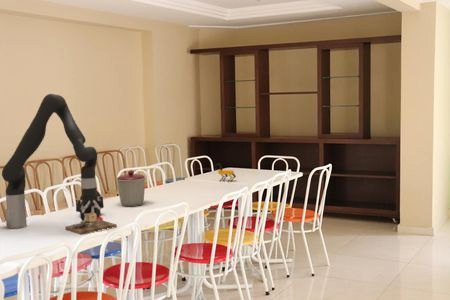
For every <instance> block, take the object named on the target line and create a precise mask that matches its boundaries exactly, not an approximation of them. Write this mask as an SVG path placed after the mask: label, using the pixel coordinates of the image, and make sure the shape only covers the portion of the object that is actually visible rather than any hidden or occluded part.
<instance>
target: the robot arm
mask: <svg viewBox="0 0 450 300" xmlns="http://www.w3.org/2000/svg"><path fill="white" fill-rule="evenodd" d="M53 114H56V115H57V117H58V118H59V119H60V121H61V122H62V124H63V130H64V132H65V134H66V136H67V138H68V140H69V141H70V143H71V145H72V147H73V151H74V155H75V156H76V159H78V161H80V162H82V163H84V165H83V166H82V167H81V168H80V179H81V180H80V187H81V188H80V190H81V195H82V200H80V199H75V200H76V201H75V211H76V212H77V213H79V215H80V217H79V218H80V220H81V221H82V220H85V214H84V211H85V209H86V208H87V207H91V206H92V207H93V206H94V207H95V208H96V209H97V210H96V216H97V217H101V214H102V213H101V209H104V208H105V206H104V198H103V196H102V195H101V196H99V197H97V191H98V187H97V180H96V166H97V161H98V152H97V149H96V148H95V147H94V146H85V143H86V138H85V136H84V133H82V131H81V128H79V126H78V124H77V123H76V120H75V119H74V117H73V115H72V113H71V111H70V108H69V106H68V104H67V101H66V99H65V98H64V97H63V96H61V95H59V94H54V93H49V94H47V95H45V96H44V97H43V99H42V100H41V103H40V106H39V107H38V109H37V112H36V114H35V115H34V118H33V119H32V121H31V122H30V124H29V126H28V128H27V130H25V132H24V134H23V136H22V137H21V139H20V142H18V143H19V144H18V145H17V146H16V148H15V151H14V152H13V154H12V155H11V157H10V158H9V160H8V161H7V163H6V164H5V165H4V166H3V168H2V170H1V177H2V179H3V180H4V181H5V182H7V186H6V188H5V199H6V200H5V203H6V208H5V210H4V211H5V220H6V221H5V222H6V223H5V224H6V228H9V229H21V228H24V227H27V226H28V223H27V207H26V194H25V189H26V169H25V167H24V165H25V164H26V162H27V161H28V160H29V158H30V157H31V156H32V155H33V154H34V153H35V152H36V151H37V150H38V149H39V147H40V145H41V143H42V142H43V140H44V138H45V136H46V131H47V130H46V129H47V124H48V122H49V120H50V119H51V117H52V115H53ZM97 200H98V201H99V205H98V204H97V203H96V202H97ZM81 202H82V203H83V204H82V206H81Z"/></svg>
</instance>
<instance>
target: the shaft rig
mask: <svg viewBox="0 0 450 300" xmlns="http://www.w3.org/2000/svg"><path fill="white" fill-rule="evenodd" d="M112 227H115V228H118V227H117V223H113V222H110V221H107V220H106V221H105V220H98V219H97V222H93V223H86V220H82V219H81V221H80V223H75V224H71V225H67V226H65V230H66V231H69V232H72V233H75V234H78V235H80V236H81V235H86V234H91V233H95V232H94V231H96V232H99V231H98V230H101V231H103V230H102V229H106V230H108V229H107V228H111V229H113V228H112ZM90 232H91V233H90Z"/></svg>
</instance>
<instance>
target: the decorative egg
mask: <svg viewBox="0 0 450 300" xmlns="http://www.w3.org/2000/svg"><path fill="white" fill-rule="evenodd" d="M99 196H101V197H102V195H101V194H100V192H99V191H98V190H97V197H99ZM79 200H82V194H81V195H80V198H79ZM96 203H97V204H98V205H99V201H98V200H97V202H96ZM82 204H83V203H82V202H81V206H82ZM91 210H92V207H87V208H86V209H85V211H84V215H85V214H87V213H91ZM96 210H97V209H96V208H95V207H94V213H96Z"/></svg>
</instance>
